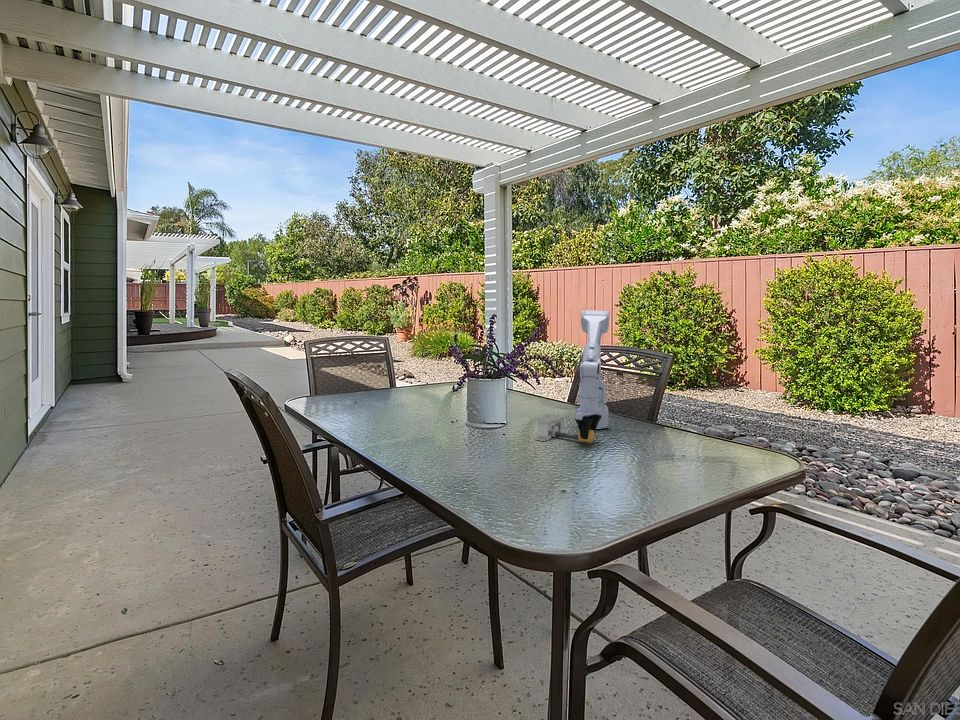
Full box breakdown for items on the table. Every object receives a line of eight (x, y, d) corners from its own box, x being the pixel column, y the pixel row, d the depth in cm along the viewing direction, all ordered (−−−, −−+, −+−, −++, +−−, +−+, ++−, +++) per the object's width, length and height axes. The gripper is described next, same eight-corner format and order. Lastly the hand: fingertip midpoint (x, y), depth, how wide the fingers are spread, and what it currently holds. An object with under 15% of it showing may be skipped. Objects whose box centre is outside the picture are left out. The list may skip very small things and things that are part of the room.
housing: (533, 440, 187) (534, 421, 186) (557, 431, 199) (557, 414, 199) (544, 442, 185) (544, 423, 184) (566, 433, 197) (567, 415, 196)
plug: (545, 437, 191) (545, 425, 190) (551, 435, 194) (551, 423, 194) (588, 443, 181) (589, 431, 180) (594, 441, 184) (594, 429, 184)
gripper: (588, 392, 190) (586, 431, 191) (567, 398, 178) (566, 439, 180) (607, 395, 185) (605, 434, 187) (587, 401, 174) (585, 443, 176)
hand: (587, 437), depth 183 cm, fingers closed on plug, 4 cm apart
